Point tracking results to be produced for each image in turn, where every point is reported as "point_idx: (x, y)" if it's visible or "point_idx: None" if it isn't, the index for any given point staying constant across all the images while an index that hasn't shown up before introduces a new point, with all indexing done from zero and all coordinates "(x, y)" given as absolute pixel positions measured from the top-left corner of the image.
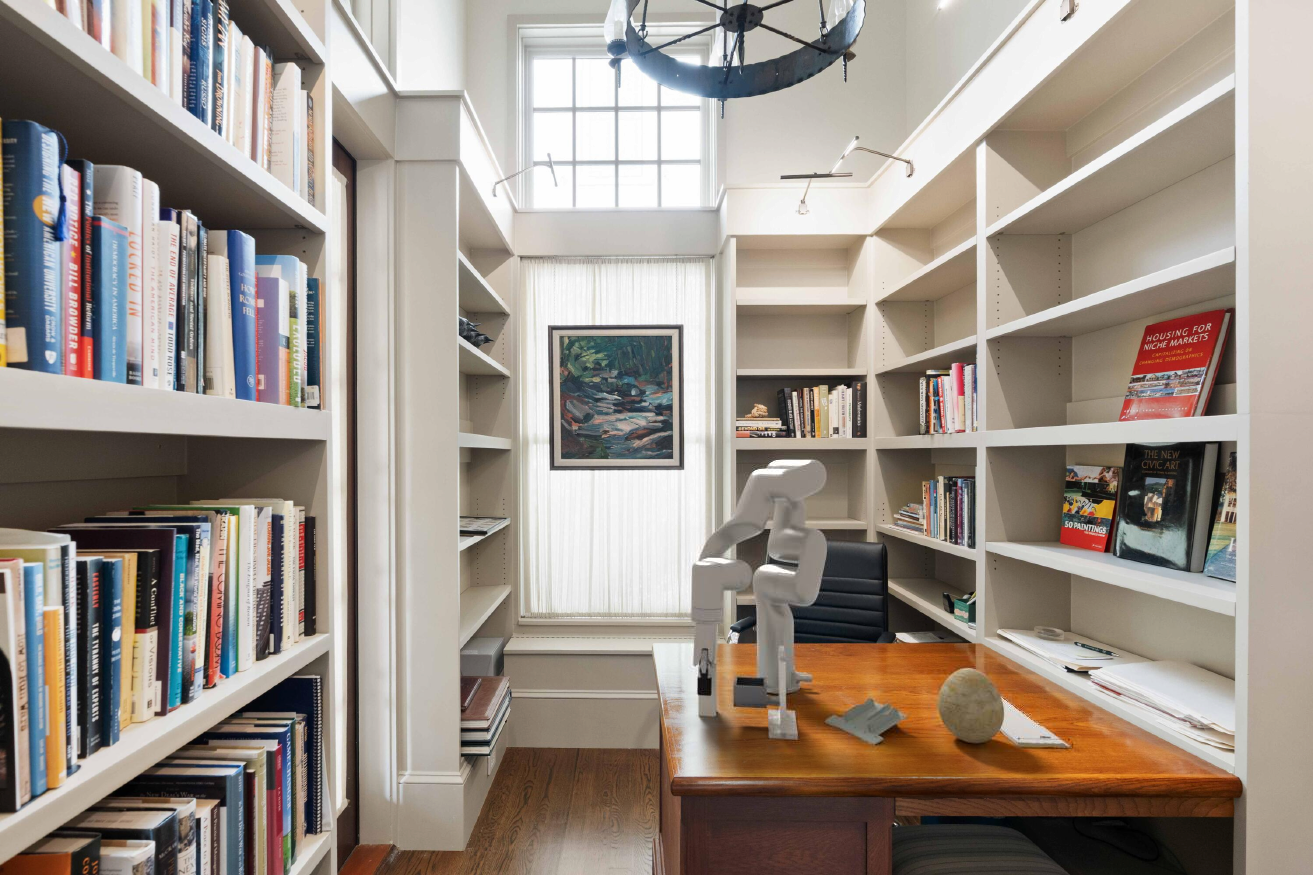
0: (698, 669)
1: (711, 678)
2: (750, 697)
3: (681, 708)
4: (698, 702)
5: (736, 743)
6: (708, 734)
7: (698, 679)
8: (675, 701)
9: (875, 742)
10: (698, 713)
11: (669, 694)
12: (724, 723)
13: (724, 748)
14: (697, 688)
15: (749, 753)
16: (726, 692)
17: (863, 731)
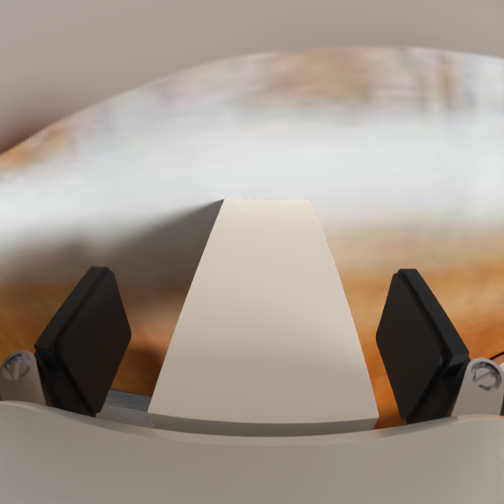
0: (154, 392)
1: (81, 414)
2: None
3: (316, 103)
4: (214, 224)
5: (41, 324)
6: (52, 255)
7: (46, 338)
8: (416, 73)
9: None
10: (223, 202)
11: (494, 58)
12: (160, 303)
13: (6, 296)
14: (75, 288)
15: (17, 341)
16: (493, 292)
17: None
